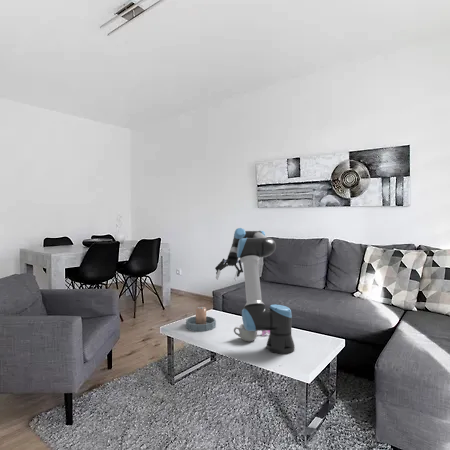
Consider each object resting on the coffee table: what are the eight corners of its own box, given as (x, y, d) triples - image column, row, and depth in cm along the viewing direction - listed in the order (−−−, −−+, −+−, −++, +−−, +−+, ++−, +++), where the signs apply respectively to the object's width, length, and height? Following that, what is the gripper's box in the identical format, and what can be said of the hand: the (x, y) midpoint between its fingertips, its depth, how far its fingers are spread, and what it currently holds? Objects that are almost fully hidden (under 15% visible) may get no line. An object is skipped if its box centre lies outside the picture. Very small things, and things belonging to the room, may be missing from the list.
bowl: (219, 323, 229) (219, 318, 229) (207, 332, 212) (207, 326, 212) (194, 320, 237) (194, 314, 236) (180, 328, 219) (180, 322, 219)
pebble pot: (208, 323, 226) (208, 306, 226) (203, 327, 220) (203, 309, 219) (198, 322, 229) (198, 305, 228) (193, 325, 222) (193, 307, 222)
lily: (252, 336, 209) (255, 325, 205) (259, 323, 219) (261, 312, 214) (270, 344, 206) (273, 333, 201) (276, 331, 215) (279, 320, 210)
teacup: (257, 336, 205) (257, 323, 205) (257, 343, 194) (257, 329, 194) (234, 336, 207) (234, 322, 206) (233, 342, 196) (233, 328, 196)
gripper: (251, 258, 242) (244, 283, 229) (219, 257, 252) (210, 280, 239) (249, 252, 237) (241, 277, 224) (216, 250, 247) (207, 274, 234)
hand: (225, 279), depth 231 cm, fingers open, 13 cm apart
